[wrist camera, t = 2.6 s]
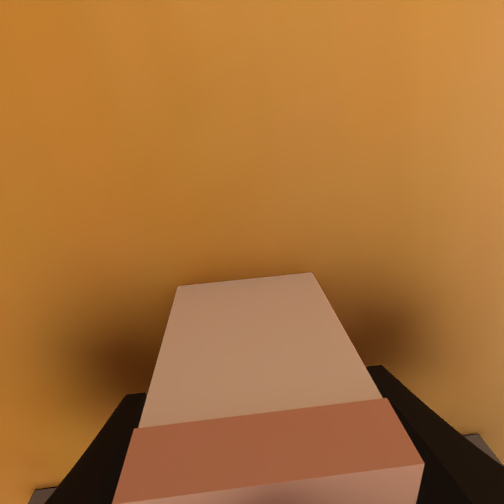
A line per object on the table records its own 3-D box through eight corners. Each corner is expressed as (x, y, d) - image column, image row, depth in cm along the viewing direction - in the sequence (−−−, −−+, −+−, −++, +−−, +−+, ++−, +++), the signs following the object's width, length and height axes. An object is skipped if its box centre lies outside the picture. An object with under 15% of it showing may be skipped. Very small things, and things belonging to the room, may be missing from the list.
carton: (176, 284, 10) (112, 504, 5) (313, 269, 11) (424, 463, 5) (206, 439, 14) (192, 694, 8) (312, 426, 14) (380, 665, 8)
